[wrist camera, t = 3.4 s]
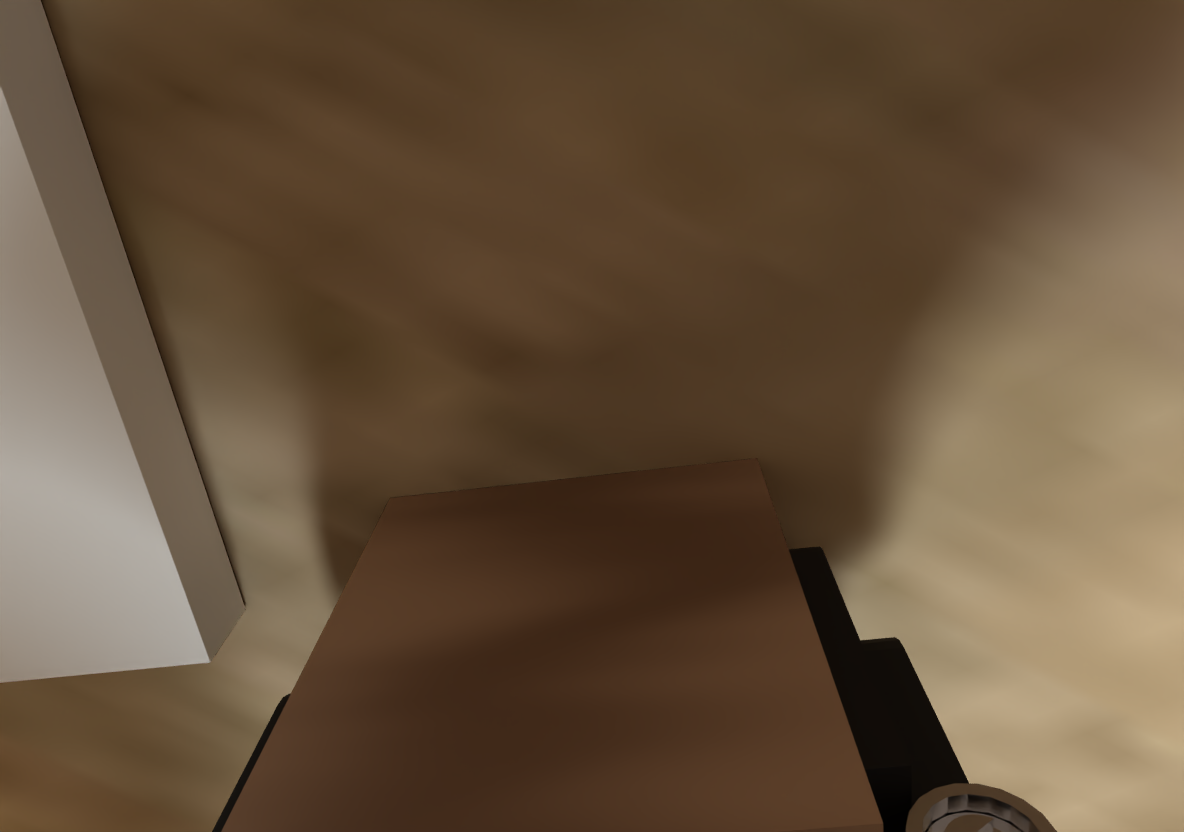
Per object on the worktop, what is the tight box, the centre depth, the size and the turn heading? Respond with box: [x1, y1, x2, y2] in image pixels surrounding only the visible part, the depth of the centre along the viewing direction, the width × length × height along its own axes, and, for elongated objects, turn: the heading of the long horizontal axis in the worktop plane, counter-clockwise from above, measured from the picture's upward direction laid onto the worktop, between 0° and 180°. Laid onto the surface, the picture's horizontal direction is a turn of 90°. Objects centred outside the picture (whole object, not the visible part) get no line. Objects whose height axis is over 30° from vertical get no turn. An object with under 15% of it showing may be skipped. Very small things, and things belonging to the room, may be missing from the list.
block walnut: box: [221, 458, 883, 832], centre depth 10 cm, size 5×5×6 cm
